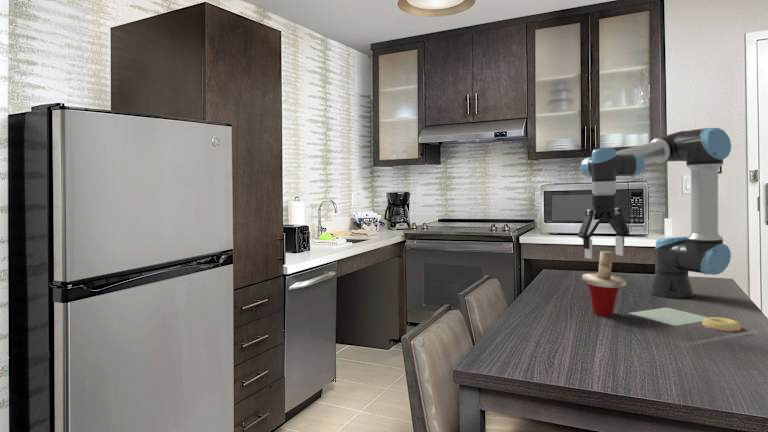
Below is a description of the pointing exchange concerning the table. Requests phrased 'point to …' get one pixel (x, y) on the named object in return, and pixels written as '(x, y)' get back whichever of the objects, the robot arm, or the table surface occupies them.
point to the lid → (604, 273)
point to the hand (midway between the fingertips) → (604, 256)
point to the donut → (721, 324)
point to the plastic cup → (602, 299)
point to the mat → (670, 316)
